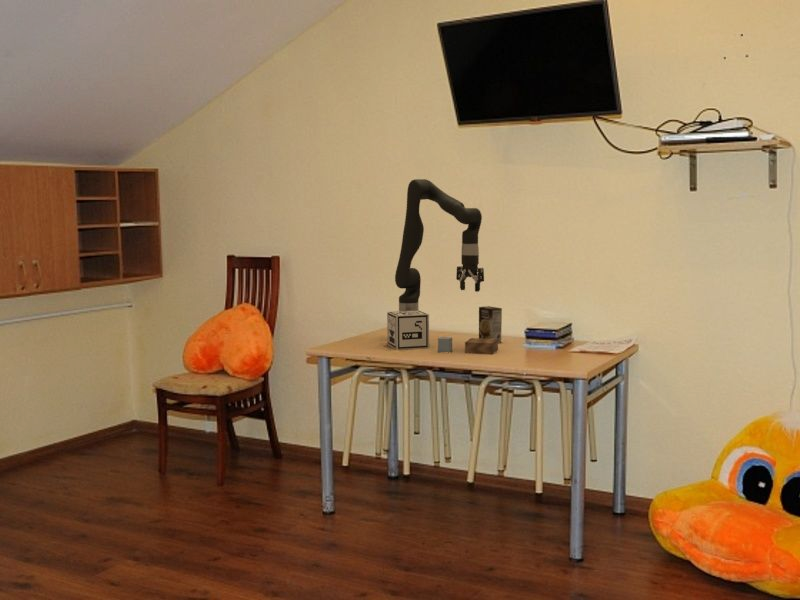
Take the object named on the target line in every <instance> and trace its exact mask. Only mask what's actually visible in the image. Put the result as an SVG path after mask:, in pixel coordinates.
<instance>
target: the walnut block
mask: <svg viewBox="0 0 800 600" xmlns="http://www.w3.org/2000/svg"><path fill="white" fill-rule="evenodd" d="M498 350H499V343H498V339H483V338H479V337H471V338H469V339H468V340H466V341H465V342H464V353H465V354H477V355H478V354H481V355H493V354H495V353H496V352H498Z"/></svg>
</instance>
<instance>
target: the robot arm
mask: <svg viewBox="0 0 800 600" xmlns="http://www.w3.org/2000/svg"><path fill="white" fill-rule="evenodd" d="M422 200H429V201H432V202H435V203H436V204H437V205H438V206H439V207H440V209H441V210H442V211H444V212H445V213H447V214H449V215H451V216H453V217H454V218H455V220H456V221H458V222H459V223H461V224H463V225H467V228H466V229H465V230H463V231H462V234H461V266H456V276H455V277H456V278H455V279H456V280H457V281H459V289H460V290H461V291H466V280H467V278H472V280H473V281H474V291H475V292H476V293H478V292H480V290H481V283H482V282H484V281H485V276H484V275H485V271H484V269H485V268H484V267H478V265H479V263H480V262H479V261H480V259H479V257H480V256H479V254H480V251H479V250H480V249H479V232H480V230H481V225H482V218H483V216H482V212H481V210H480V209H478V208H477V207H470V208H469V207H465V204H464V203H463V202H461V201H460V200H458V199H456V198H454V197H453V196H451V195H449V194H448V193H446V192H444V191H443V189H440V188H439V187H438V186H437V185H436V184H434V183H433V182H432V181H430V180H429V179H427V178H422V179H421V178H419V179H418V178H416V179H411V181H410V182H409V184H408V186H407V194H406V211H405V212H406V213H405V220H404V226H403V232H402V240H401V248H400V253H399V258H398V262H397V267H396V270H395V275H394V282H395V285H396V287H397V288H399V289H405V290H404V292H403V293H402V294H401V295H400V296H399V297H398V311H418V310H419V311H420V309H419V298H420V297H421V284H422V283H421V281H422V280H421V278H422V277H421V274H420V271H419V270H418V269H417V268H415V267H411V266H412V262H413V259H414V257H415V255H416V254H417V252H418V251H419V249H420V247H421V245H422V243H423V239H424V238H423V237H424V232H425V231H424V229H425V227H424V222H423V220H422V218H421V214H420V207H421V206H420V205H421V204H420V203H421V201H422Z"/></svg>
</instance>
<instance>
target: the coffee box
mask: <svg viewBox="0 0 800 600" xmlns="http://www.w3.org/2000/svg"><path fill="white" fill-rule="evenodd" d="M502 309H503V308H501V307H495V306H490V305H489V306H487V305H486V306H479V307H478V338H483V339H498V344H501V343H502V319H503V318H502V316H503V315H502V314H503V313H502V311H503V310H502Z"/></svg>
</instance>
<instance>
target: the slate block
mask: <svg viewBox="0 0 800 600" xmlns="http://www.w3.org/2000/svg"><path fill="white" fill-rule="evenodd" d="M441 352H448V353H447V354H450V353H452V352H453V337H448V336H440V337H439V338H437V353H441ZM449 352H450V353H449Z"/></svg>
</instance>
